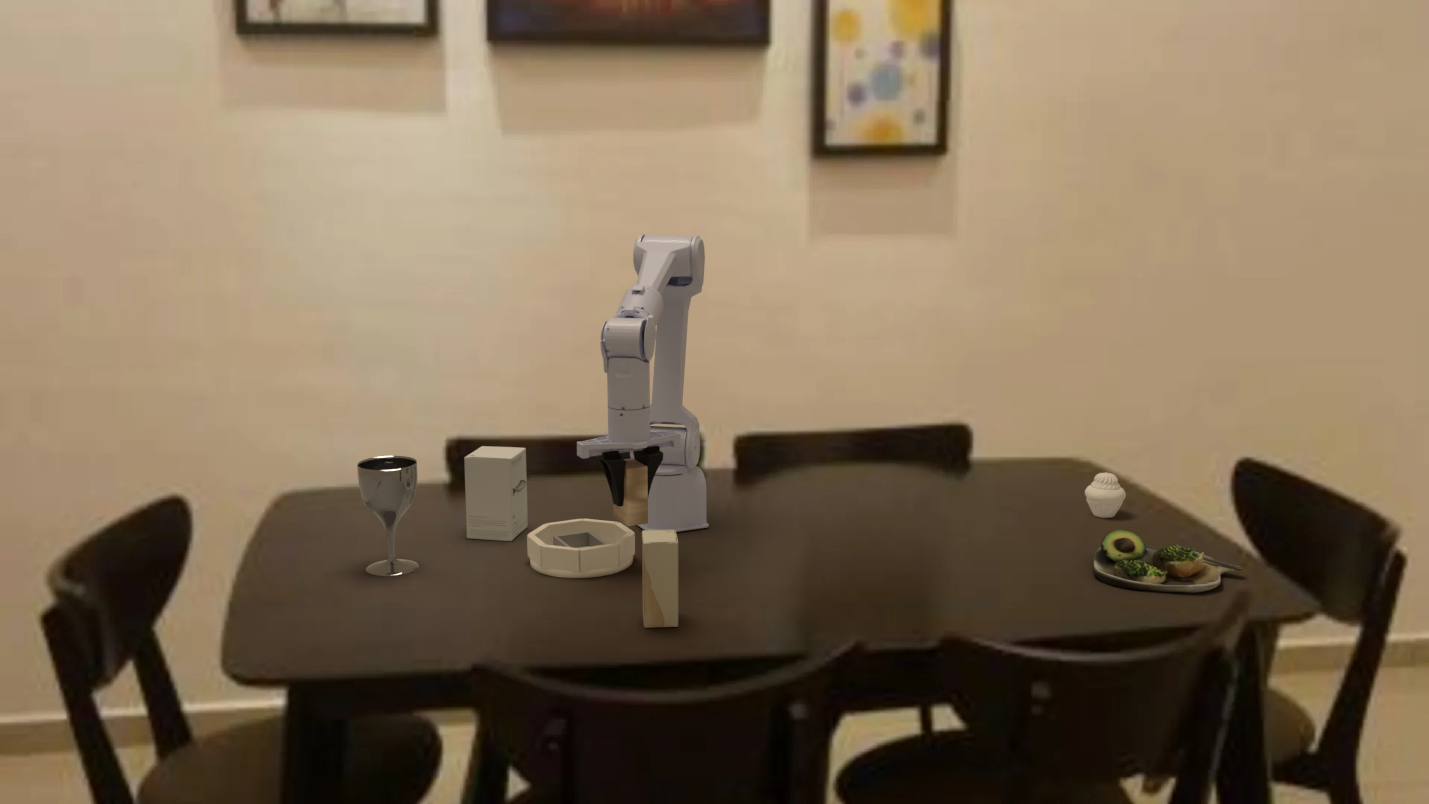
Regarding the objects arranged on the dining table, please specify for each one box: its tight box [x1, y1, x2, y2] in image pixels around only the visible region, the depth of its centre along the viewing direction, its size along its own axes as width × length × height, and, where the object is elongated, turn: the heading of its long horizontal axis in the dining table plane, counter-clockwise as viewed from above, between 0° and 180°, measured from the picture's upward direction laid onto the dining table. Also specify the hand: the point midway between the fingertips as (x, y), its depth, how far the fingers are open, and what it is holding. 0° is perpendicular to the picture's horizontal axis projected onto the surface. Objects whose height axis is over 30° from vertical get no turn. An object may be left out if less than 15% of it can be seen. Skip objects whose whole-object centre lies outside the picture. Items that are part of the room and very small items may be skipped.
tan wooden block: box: [612, 457, 648, 527], centre depth 188 cm, size 3×5×8 cm, turn 27°
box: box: [641, 530, 679, 629], centre depth 169 cm, size 5×4×11 cm
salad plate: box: [1091, 529, 1243, 593], centre depth 188 cm, size 19×18×5 cm
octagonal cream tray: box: [526, 518, 636, 579], centre depth 193 cm, size 14×14×4 cm
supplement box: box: [463, 445, 529, 542], centre depth 205 cm, size 7×7×13 cm
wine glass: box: [356, 455, 420, 577], centre depth 189 cm, size 8×8×15 cm
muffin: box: [1084, 471, 1127, 519], centre depth 215 cm, size 6×6×7 cm
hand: (630, 502), depth 188 cm, fingers closed on tan wooden block, 3 cm apart
